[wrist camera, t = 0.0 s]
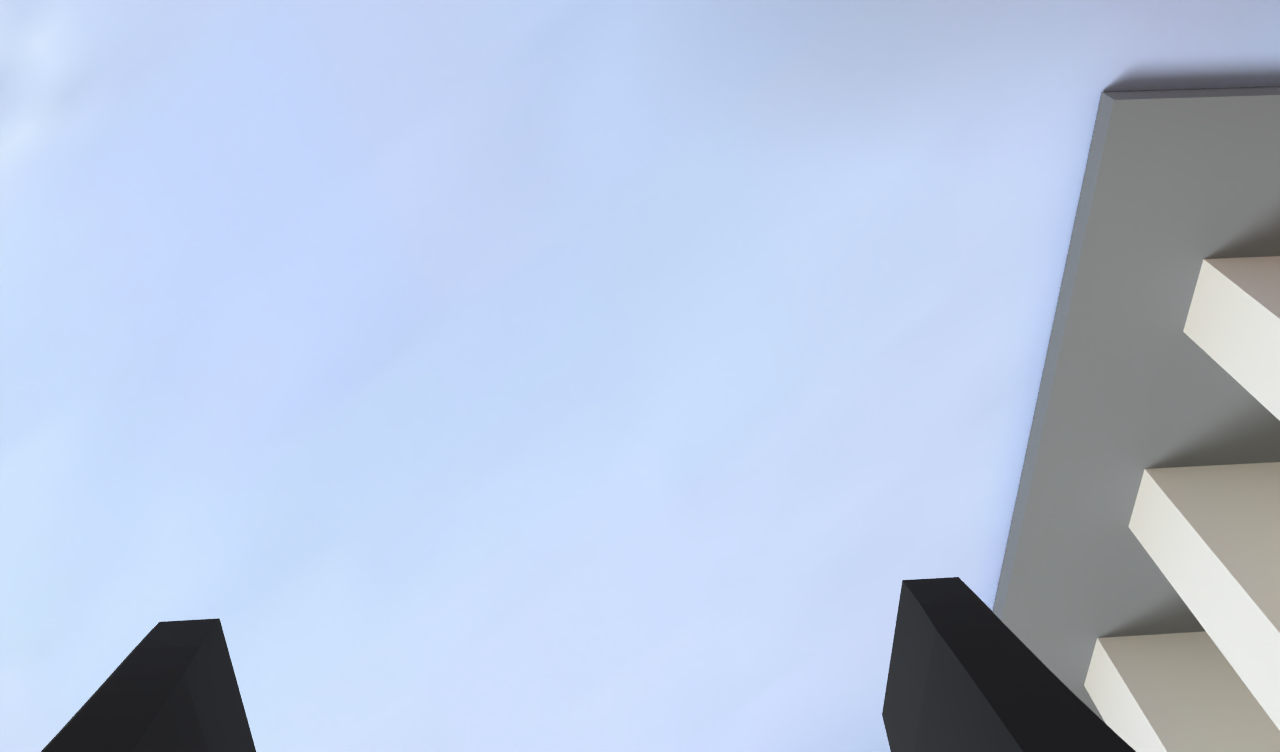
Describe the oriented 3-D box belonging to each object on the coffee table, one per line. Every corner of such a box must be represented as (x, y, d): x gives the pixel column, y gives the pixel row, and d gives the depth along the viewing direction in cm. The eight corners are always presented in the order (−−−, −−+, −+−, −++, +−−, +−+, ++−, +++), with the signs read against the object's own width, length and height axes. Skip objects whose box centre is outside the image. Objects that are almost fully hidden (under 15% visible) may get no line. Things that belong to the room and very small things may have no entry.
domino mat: (1231, 936, 34) (1240, 951, 33) (919, 960, 33) (924, 976, 33) (1619, 76, 20) (1641, 84, 20) (1102, 92, 20) (1114, 100, 19)
